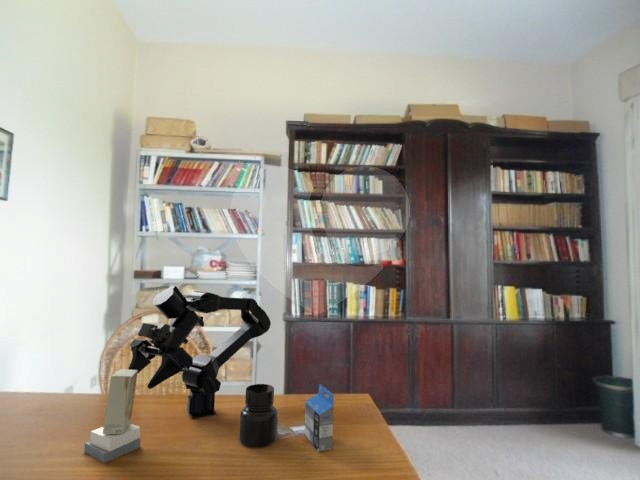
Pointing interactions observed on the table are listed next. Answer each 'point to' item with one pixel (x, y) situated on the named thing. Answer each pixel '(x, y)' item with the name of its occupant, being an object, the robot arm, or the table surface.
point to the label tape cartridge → (320, 419)
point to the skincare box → (120, 401)
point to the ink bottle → (258, 417)
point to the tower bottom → (106, 455)
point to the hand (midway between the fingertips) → (136, 384)
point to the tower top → (114, 438)
